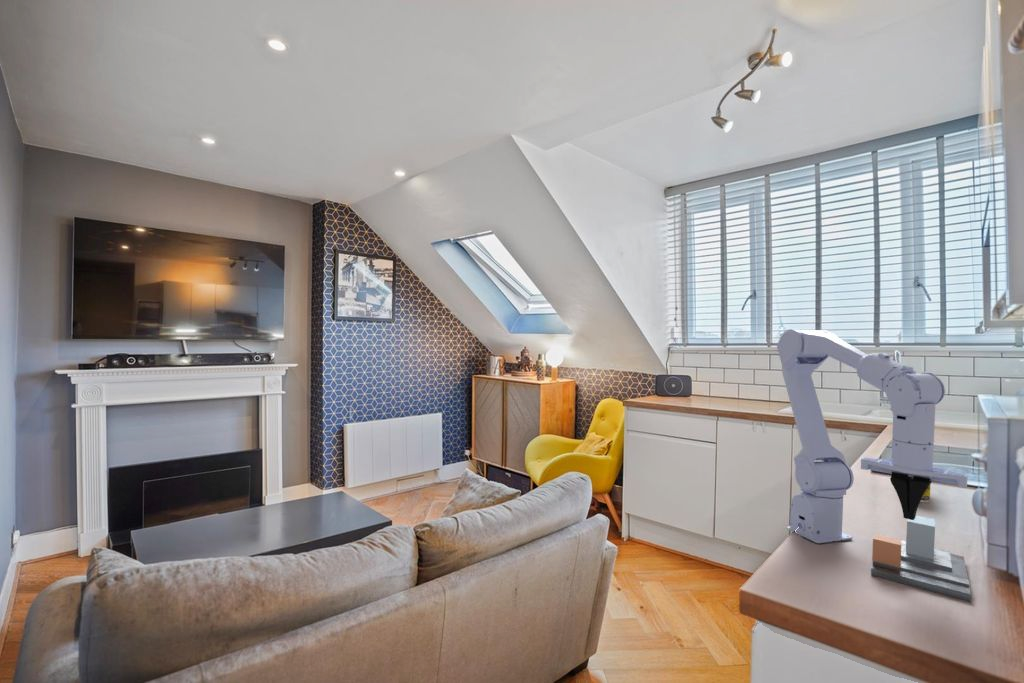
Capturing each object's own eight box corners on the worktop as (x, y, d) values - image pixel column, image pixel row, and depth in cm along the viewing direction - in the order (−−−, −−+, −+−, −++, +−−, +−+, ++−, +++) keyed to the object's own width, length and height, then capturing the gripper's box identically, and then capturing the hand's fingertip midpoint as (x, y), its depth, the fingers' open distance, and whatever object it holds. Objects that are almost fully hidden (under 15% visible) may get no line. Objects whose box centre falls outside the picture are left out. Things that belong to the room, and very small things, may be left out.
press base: (970, 601, 80) (970, 590, 80) (871, 575, 88) (871, 564, 88) (963, 562, 94) (963, 553, 94) (878, 543, 102) (878, 534, 102)
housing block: (933, 559, 91) (935, 526, 91) (905, 552, 94) (907, 521, 93) (933, 550, 95) (934, 519, 95) (906, 544, 97) (907, 513, 97)
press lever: (900, 567, 88) (901, 545, 88) (872, 560, 90) (873, 538, 90) (900, 561, 90) (901, 539, 90) (873, 555, 93) (874, 533, 92)
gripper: (970, 445, 85) (967, 524, 85) (868, 431, 96) (865, 501, 96) (966, 451, 80) (962, 535, 81) (859, 436, 91) (856, 510, 91)
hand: (909, 517), depth 88 cm, fingers closed
